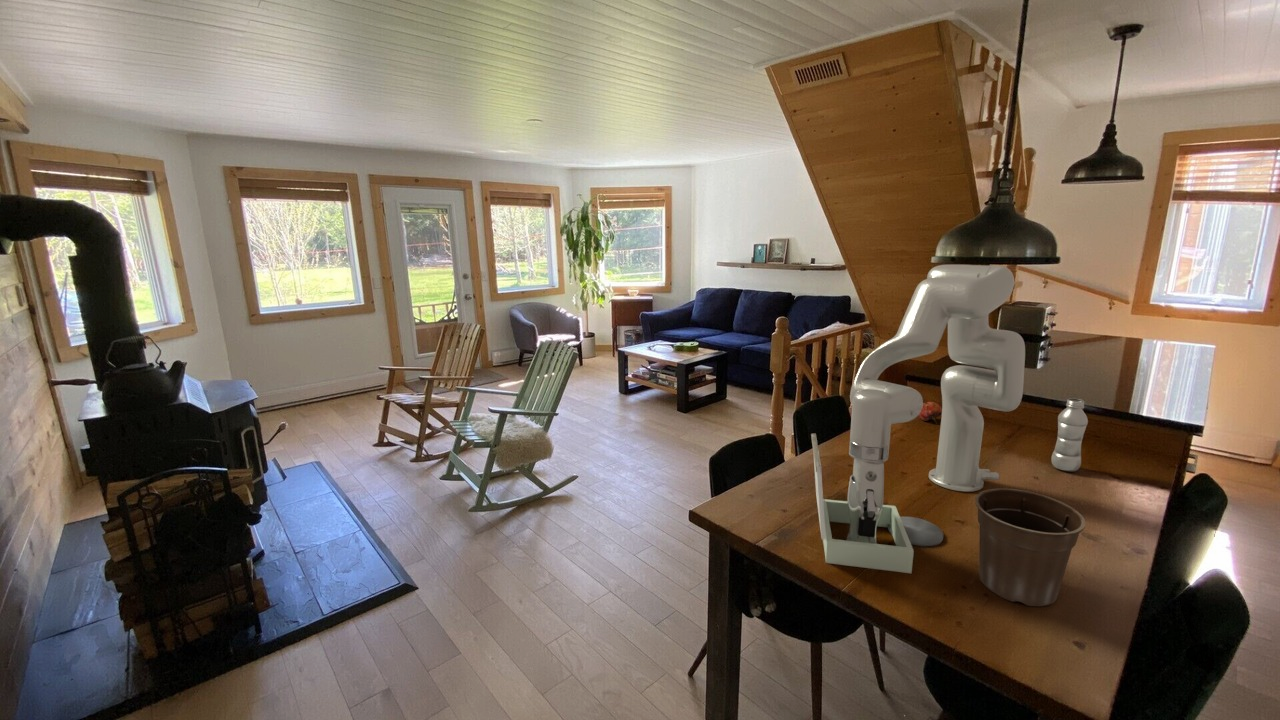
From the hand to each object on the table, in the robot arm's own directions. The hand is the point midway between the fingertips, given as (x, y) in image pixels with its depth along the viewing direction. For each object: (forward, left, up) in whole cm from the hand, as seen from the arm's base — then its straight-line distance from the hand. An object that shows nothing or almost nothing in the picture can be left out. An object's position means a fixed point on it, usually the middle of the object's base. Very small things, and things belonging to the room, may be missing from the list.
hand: (863, 524), depth 114 cm
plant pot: (-26, +9, -5) cm, 28 cm away
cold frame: (0, 0, -5) cm, 5 cm away
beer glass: (0, 0, -5) cm, 5 cm away
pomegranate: (-33, -85, -5) cm, 92 cm away
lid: (+9, 0, +9) cm, 13 cm away
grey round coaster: (-12, -7, -5) cm, 15 cm away
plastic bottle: (-59, -50, -5) cm, 77 cm away
